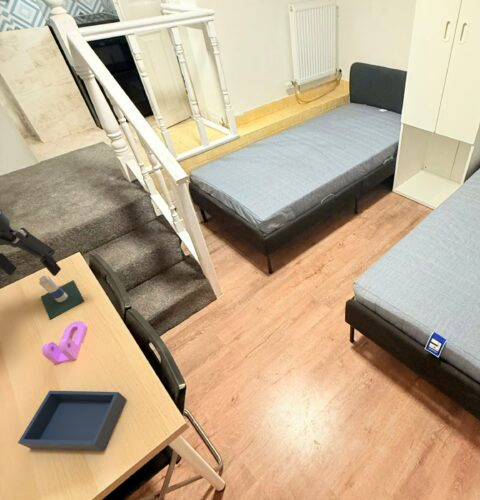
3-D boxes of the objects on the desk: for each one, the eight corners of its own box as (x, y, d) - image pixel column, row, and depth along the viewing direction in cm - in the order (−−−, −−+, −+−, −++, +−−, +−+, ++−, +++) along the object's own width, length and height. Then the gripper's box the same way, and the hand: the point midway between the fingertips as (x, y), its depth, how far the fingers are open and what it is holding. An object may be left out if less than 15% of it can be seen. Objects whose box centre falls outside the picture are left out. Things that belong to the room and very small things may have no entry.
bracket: (77, 360, 93) (63, 348, 88) (55, 365, 92) (40, 352, 87) (89, 321, 102) (76, 308, 97) (69, 325, 101) (55, 312, 96)
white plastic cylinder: (54, 301, 107) (33, 281, 100) (61, 293, 110) (41, 273, 103) (63, 302, 107) (43, 282, 100) (70, 294, 109) (51, 274, 102)
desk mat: (41, 297, 110) (40, 296, 109) (73, 281, 114) (73, 280, 114) (50, 319, 103) (49, 318, 103) (84, 301, 108) (83, 300, 107)
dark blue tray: (32, 449, 77) (17, 443, 74) (61, 398, 86) (49, 390, 82) (105, 451, 77) (94, 445, 73) (127, 400, 85) (118, 391, 81)
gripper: (-78, 225, 82) (-15, 281, 97) (20, 226, 81) (68, 282, 96) (-53, 206, 87) (3, 262, 102) (40, 207, 86) (82, 263, 101)
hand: (35, 272), depth 99 cm, fingers open, 13 cm apart
